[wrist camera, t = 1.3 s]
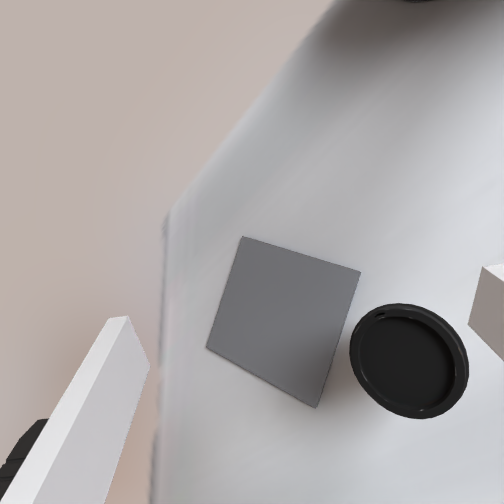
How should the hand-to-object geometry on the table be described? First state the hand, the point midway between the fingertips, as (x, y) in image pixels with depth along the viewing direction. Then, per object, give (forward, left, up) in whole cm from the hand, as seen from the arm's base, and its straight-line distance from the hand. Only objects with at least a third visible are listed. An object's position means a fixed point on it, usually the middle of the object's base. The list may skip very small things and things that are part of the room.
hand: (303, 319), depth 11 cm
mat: (+5, -12, -29) cm, 32 cm away
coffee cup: (+2, +4, -29) cm, 29 cm away
